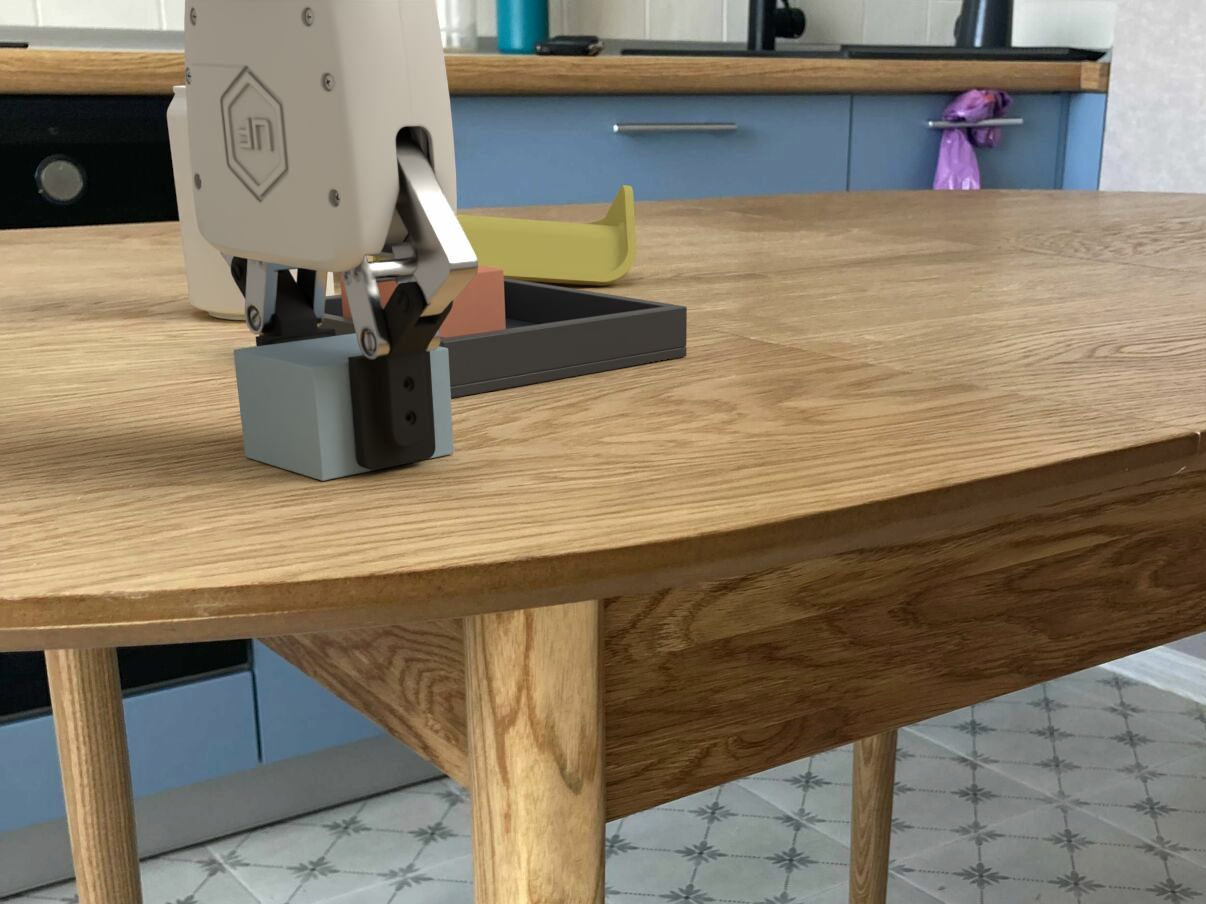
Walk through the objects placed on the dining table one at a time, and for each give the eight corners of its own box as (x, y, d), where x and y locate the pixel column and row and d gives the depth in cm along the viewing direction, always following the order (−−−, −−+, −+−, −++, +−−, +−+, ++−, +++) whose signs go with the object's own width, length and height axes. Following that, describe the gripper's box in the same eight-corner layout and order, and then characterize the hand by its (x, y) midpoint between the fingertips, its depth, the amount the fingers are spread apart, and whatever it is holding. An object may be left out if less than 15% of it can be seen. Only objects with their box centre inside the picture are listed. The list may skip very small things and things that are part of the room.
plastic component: (608, 228, 112) (636, 173, 102) (610, 329, 112) (638, 284, 102) (325, 207, 107) (326, 148, 97) (327, 313, 106) (328, 264, 97)
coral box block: (345, 354, 75) (338, 268, 73) (442, 340, 79) (438, 259, 78) (409, 368, 72) (403, 279, 70) (507, 353, 76) (503, 269, 75)
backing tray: (260, 355, 77) (255, 303, 76) (499, 322, 88) (498, 276, 87) (446, 399, 68) (443, 341, 67) (686, 356, 79) (687, 306, 78)
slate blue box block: (244, 457, 58) (232, 349, 56) (375, 432, 62) (367, 331, 61) (322, 481, 55) (312, 368, 53) (454, 453, 59) (448, 347, 58)
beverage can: (161, 317, 87) (131, 86, 82) (243, 298, 94) (220, 84, 89) (287, 326, 85) (264, 90, 80) (361, 306, 92) (344, 87, 87)
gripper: (70, -93, 54) (142, 428, 61) (367, -118, 43) (410, 512, 51) (259, -78, 59) (304, 402, 66) (564, -97, 49) (576, 473, 56)
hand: (349, 444), depth 58 cm, fingers closed on slate blue box block, 5 cm apart
